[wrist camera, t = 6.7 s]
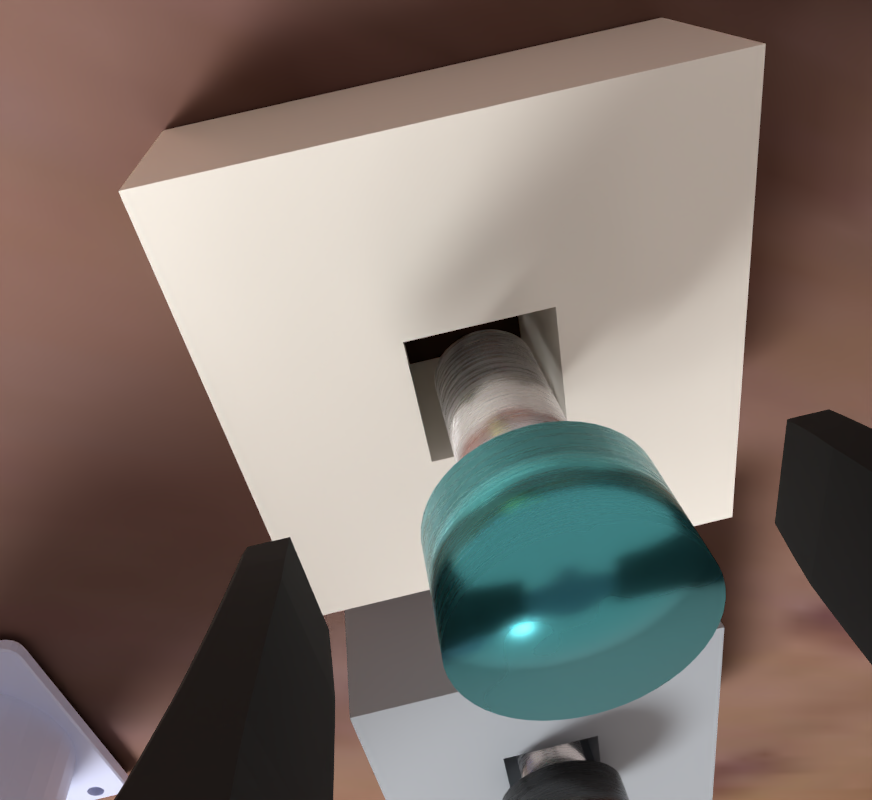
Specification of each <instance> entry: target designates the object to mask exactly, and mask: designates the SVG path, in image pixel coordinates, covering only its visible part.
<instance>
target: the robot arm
mask: <svg viewBox="0 0 872 800" xmlns="http://www.w3.org/2000/svg"><path fill="white" fill-rule="evenodd" d="M775 524H776V526H777V528H778V529H779V531H780V533H781V535H782V536H783V538H784V540H785V542H786V544H787V545H788V547H789V549H790V551H791V553H792V554H793V556H794V558H795V559H796V561H797V563H798V564H799V566H800V568H801V569H802V571H803V573H804V574H805V576H806V578H807V579H808V581H809V583H810V584H811V586H812V587H813V588H814V590H815V591H816V592H817V594H818V595H819V596H820V598H821V599H822V600H823V602H824V603H825V604H826V606H827V607H828V608H829V610H830V611H831V612H832V614H833V615H834V616H835V618H836V619H837V620H838V622H839V623H840V624H841V626H842V627H843V628H844V629H845V631H846V632H847V633H848V635H849V636H850V637H851V639H852V640H853V641H854V642H855V644H856V645H857V646H858V648H859V649H860V650H861V651H862V653H863V654H864V655H865V657H866V658H867V659H868V661H869V662H870V663H871V664H872V429H871V428H869V427H867V426H865V425H863V424H860V423H858V422H856V421H854V420H852V419H850V418H847V417H845V416H843V415H841V414H838V413H836V412H834V411H831V410H825V411H821V412H816V413H812V414H808V415H804V416H799V417H795V418H791V419H787V426H786V434H785V443H784V451H783V459H782V468H781V476H780V485H779V493H778V501H777V510H776V518H775ZM334 735H335V692H334V680H333V667H332V657H331V647H330V637H329V629H328V627H327V624H326V622H325V619H324V617H323V615H322V612H321V610H320V607H319V605H318V603H317V600H316V598H315V595H314V593H313V591H312V588H311V586H310V584H309V581H308V579H307V576H306V574H305V572H304V569H303V567H302V564H301V562H300V560H299V557H298V555H297V552H296V550H295V548H294V545H293V543H292V540H291V538H290V537H288V538H284V539H279V540H275V541H271V542H267V543H263V544H258V545H254V546H250V547H247V549H246V550H245V552H244V553H243V555H242V557H241V559H240V561H239V563H238V566H237V568H236V570H235V572H234V575H233V577H232V579H231V581H230V584H229V586H228V588H227V590H226V592H225V595H224V597H223V599H222V601H221V603H220V606H219V608H218V610H217V612H216V614H215V616H214V618H213V620H212V623H211V625H210V627H209V629H208V631H207V633H206V635H205V637H204V639H203V641H202V643H201V645H200V647H199V649H198V651H197V653H196V655H195V657H194V659H193V661H192V663H191V665H190V667H189V669H188V671H187V673H186V675H185V677H184V679H183V681H182V683H181V685H180V687H179V688H178V690H177V692H176V694H175V696H174V698H173V700H172V702H171V703H170V705H169V707H168V709H167V710H166V712H165V714H164V716H163V717H162V719H161V721H160V723H159V724H158V726H157V728H156V730H155V732H154V733H153V735H152V737H151V739H150V740H149V742H148V744H147V746H146V747H145V749H144V751H143V753H142V755H141V756H140V758H139V760H138V761H137V763H136V765H135V766H134V768H133V770H132V771H131V773H130V775H129V776H128V775H127V773H126V772H125V771H124V770H123V768H122V767H121V766H120V765H119V763H118V762H117V761H116V760H115V759H114V757H113V756H112V755H111V754H110V752H109V751H108V750H107V749H106V747H105V746H104V745H103V744H102V742H101V741H100V740H99V739H98V738H97V736H96V735H95V734H94V733H93V731H92V730H91V729H90V728H89V726H88V725H87V724H86V723H85V722H84V720H83V719H82V718H81V717H80V715H79V714H78V713H77V712H76V710H75V709H74V708H73V707H72V705H71V704H70V703H69V702H68V701H67V699H66V698H65V697H64V696H63V694H62V693H61V692H60V691H59V689H58V688H57V687H56V686H55V685H54V683H53V682H52V681H51V680H50V678H49V677H48V676H47V675H46V673H45V672H44V671H43V670H42V669H41V667H40V666H39V665H38V664H37V662H36V661H35V660H34V659H33V657H32V656H31V655H30V654H29V652H28V651H27V650H26V649H25V648H24V647H23V646H22V645H21V644H20V643H18V642H15V641H13V640H0V800H96V799H100V798H104V797H108V796H112V795H116V794H117V796H116V797H115V799H114V800H333V780H334Z"/></svg>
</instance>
